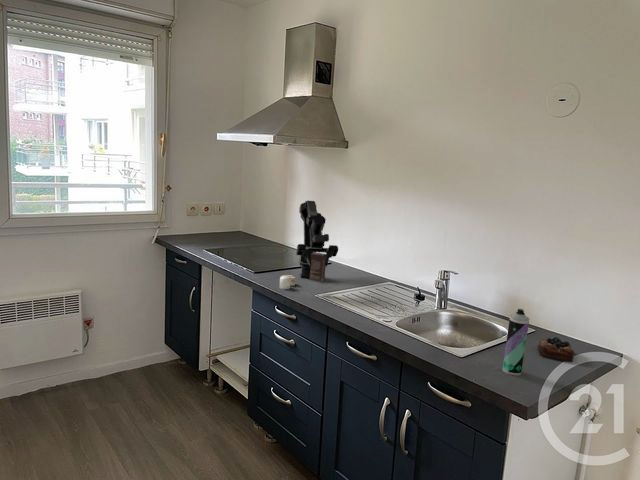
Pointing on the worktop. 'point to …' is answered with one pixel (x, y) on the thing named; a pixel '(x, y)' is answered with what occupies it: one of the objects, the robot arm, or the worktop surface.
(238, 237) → the worktop surface
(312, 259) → the box
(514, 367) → the spray can
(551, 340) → the pastry
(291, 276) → the birch block
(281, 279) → the plastic cylinder
